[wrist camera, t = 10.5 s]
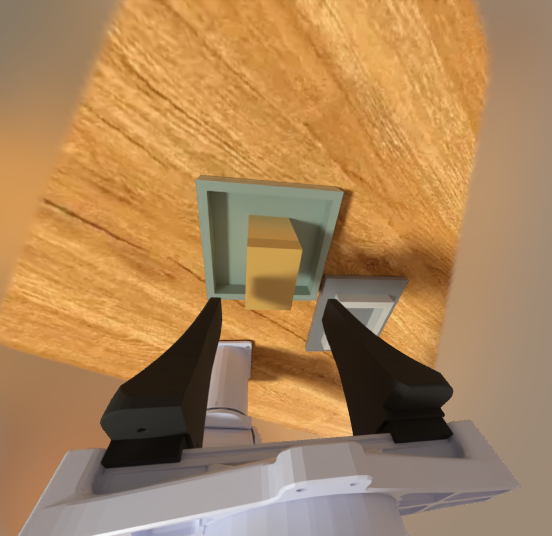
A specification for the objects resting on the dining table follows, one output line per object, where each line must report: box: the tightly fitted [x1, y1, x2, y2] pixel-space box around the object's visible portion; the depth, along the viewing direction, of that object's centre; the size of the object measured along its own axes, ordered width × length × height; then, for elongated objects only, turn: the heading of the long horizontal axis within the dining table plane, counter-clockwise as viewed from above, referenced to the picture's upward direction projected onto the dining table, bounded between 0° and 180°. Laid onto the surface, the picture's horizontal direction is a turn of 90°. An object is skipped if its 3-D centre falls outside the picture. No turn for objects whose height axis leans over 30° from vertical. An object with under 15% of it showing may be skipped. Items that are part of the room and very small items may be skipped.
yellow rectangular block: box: [245, 215, 302, 310], centre depth 19 cm, size 6×4×7 cm, turn 174°
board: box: [305, 275, 409, 351], centre depth 29 cm, size 14×11×2 cm
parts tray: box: [195, 175, 344, 300], centre depth 22 cm, size 13×13×2 cm
